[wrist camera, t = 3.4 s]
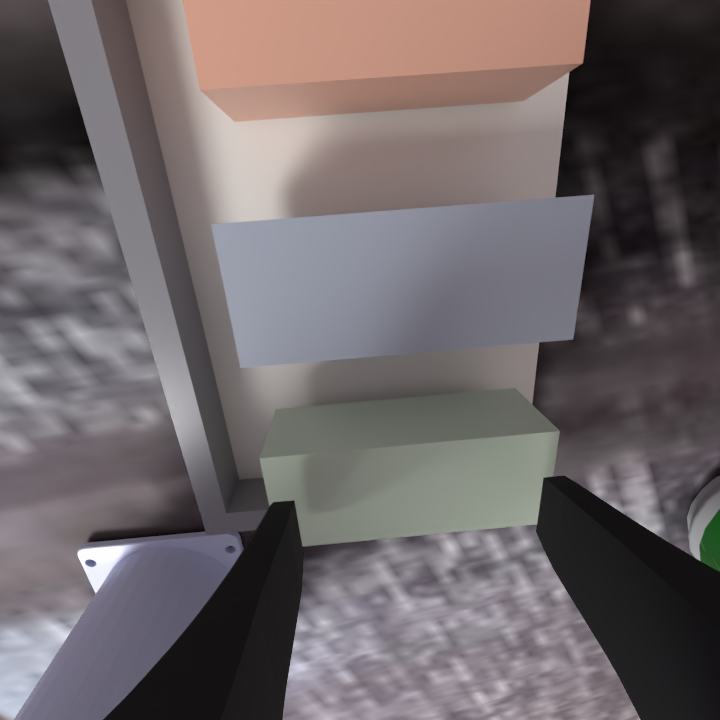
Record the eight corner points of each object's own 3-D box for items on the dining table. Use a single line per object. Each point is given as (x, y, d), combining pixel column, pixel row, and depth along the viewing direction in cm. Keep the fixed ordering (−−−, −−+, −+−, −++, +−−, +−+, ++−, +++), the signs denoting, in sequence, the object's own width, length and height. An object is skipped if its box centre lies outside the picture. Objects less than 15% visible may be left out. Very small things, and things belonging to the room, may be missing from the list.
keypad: (513, 455, 18) (550, 506, 15) (228, 482, 18) (204, 538, 15) (565, -90, 11) (657, -215, 8) (93, -62, 11) (-11, -179, 8)
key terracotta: (523, 101, 11) (582, 63, 9) (234, 122, 11) (199, 89, 8) (535, -54, 10) (609, -157, 7) (208, -33, 10) (157, -131, 7)
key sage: (508, 466, 15) (546, 523, 12) (289, 487, 15) (278, 548, 12) (515, 387, 14) (559, 431, 11) (275, 409, 14) (259, 458, 11)
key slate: (522, 312, 13) (572, 339, 10) (262, 334, 13) (240, 367, 10) (532, 200, 11) (594, 194, 9) (243, 222, 11) (210, 224, 8)
